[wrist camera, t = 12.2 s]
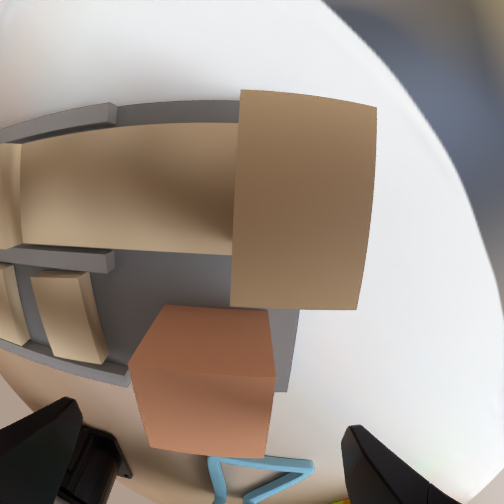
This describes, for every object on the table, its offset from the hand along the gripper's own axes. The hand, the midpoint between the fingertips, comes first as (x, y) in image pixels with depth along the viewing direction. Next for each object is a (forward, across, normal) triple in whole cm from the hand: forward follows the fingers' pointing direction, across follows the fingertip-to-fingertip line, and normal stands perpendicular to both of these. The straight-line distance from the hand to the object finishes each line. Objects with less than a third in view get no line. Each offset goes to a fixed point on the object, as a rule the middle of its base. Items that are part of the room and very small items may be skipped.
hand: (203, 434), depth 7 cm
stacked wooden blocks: (+5, +3, -7) cm, 9 cm away
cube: (+5, 0, 0) cm, 5 cm away
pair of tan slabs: (+5, +11, -1) cm, 12 cm away
